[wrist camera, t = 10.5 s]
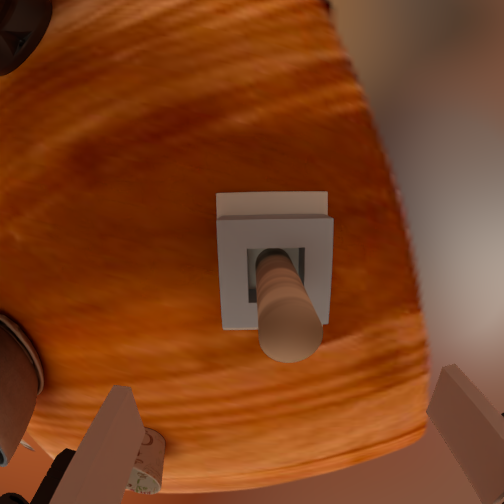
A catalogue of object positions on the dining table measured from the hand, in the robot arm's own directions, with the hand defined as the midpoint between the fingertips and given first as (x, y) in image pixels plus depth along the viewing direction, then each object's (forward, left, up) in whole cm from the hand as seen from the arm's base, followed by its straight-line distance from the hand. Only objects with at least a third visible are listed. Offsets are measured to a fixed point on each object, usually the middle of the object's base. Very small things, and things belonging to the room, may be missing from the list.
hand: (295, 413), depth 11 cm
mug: (+34, -20, -25) cm, 46 cm away
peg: (+1, +1, -24) cm, 24 cm away
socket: (+1, +1, -25) cm, 25 cm away
